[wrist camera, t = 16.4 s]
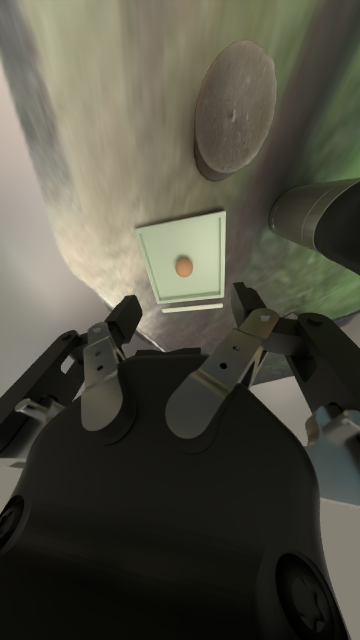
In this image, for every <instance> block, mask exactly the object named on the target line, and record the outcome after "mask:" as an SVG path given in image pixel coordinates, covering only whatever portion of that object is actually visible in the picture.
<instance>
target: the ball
mask: <svg viewBox="0 0 360 640" xmlns="http://www.w3.org/2000/svg"><path fill="white" fill-rule="evenodd" d="M175 270H176V273H177V274H178V275H179V276H180V277H188V276H189V275H191V273H192V271H193V264H192V262H191V261H190V260H189V259H186V258H183V259H180V260H179V261H178V262H177V263H176V265H175Z"/></svg>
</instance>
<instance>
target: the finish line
mask: <svg viewBox="0 0 360 640" xmlns="http://www.w3.org/2000/svg"><path fill="white" fill-rule="evenodd" d="M222 307H223V303H219V304H208V305H198V306H187V307H176V308H166V309H162V311H163V313H165V312H177V311H188V310H199V309H210V308H222Z"/></svg>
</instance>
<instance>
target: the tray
mask: <svg viewBox="0 0 360 640" xmlns="http://www.w3.org/2000/svg"><path fill="white" fill-rule="evenodd" d="M225 228H226V211H224V210H223V211H218V212H213V213H208V214H203V215H199V216H194V217H189V218H184V219H179V220H174V221H169V222H164V223H159V224H154V225H149V226H144V227H139V228H136V229H134V232H135V235H136V238H137V242H138V245H139V248H140V251H141V254H142V257H143V260H144V263H145V267H146V270H147V273H148V276H149V279H150V282H151V285H152V288H153V292H154V295H155V298H156V301H157V304H161V303H171V302H181V301H191V300H201V299H211V298H221V297H224V272H225ZM183 258H186V259H189V260H190V261H191V262H192V264H193V271H192V273H191V275H189V276H188V277H180V276H179V275H178V274H177V273H176V270H175V265H176V263H177V262H178V261H179V260H180V259H183Z"/></svg>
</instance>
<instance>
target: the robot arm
mask: <svg viewBox="0 0 360 640" xmlns="http://www.w3.org/2000/svg"><path fill="white" fill-rule="evenodd" d="M269 226H270V229H271V230H272V232H273V233H275V234H276V235H279V236H281V237H283V238H285V239H288V240H290V241H292V242H295V243H297V244H299V245H302V246H304V247H307V248H309V249H311V250H314V251H316V252H318V253H321V254H323V255H324V256H325V257H326V258H328V259H330V260H332V261H334V262H336V263H338V264H340V265H342V266H344V267H346V268H348V269H349V270H351V271H353V272H355V273H356V274H358V275H360V178H354V179H346V180H339V181H332V182H324V183H317V184H309V185H302V186H297V187H294V188H291V189H289V190H288V191H286V192H285V193H284V194H283V195H282V196H280V198H279V199H278V200H277V201H276V203H275V204H274V206H273V208H272V210H271V213H270V216H269ZM231 307H232V311H233V314H234V317H235V320H236V324H237V327H238V329H237V328H233V329H232V330H231V331H230V332H229V333H228V335H227V336H226V337H225V338H224V339H223V341H222V342H221V343H220V344H219V345H218V346H217V348H216V349H215V350H214V351H213V352H212V354H211V355H208V354H205V353H201V348H183V349H179V350H175V351H171V352H161V351H156V350H137V352H136V354H135V355H134V356H132V357H129V358H127V357H126V355H125V352H124V349H123V347H122V346H121V345H122V344H126V343H129V342H130V340H131V338H132V336H133V334H134V332H135V330H136V328H137V326H138V324H139V322H140V319H141V317H142V309H141V306H140V304H139V302H138V299H137V297H136V296H135V295H129V296H125V297H124V299H123V300H122V301H121V303H119V304H118V305H117V306H116V307H115V308H114V310H113V311H112V312H111V313H110V315H109V316H108V317H107V318H106V320H105V321H104V322H99V323H97V324H95V325H93V326H92V327H90V328H89V329H88V332H87V333H85V334H81V335H79V334H78V333H77V331H75V330H71V331H68V332H66V333H64V334H62V335H61V336H59V337H58V338H57V339H56V340H55V341H54V342H53V344H52V345H51V346H50V347H49V348H48V349H47V350H46V351H45V352H44V353H43V354H42V355H41V356H40V357H39V358H38V359H37V360H36V361H35V362H34V363H33V364H32V365H31V366H30V368H29V369H28V370H27V371H26V372H25V373H24V374H23V375H22V376H21V377H20V378H19V379H18V380H17V381H16V382H15V383H14V384H13V385H12V386H11V387H10V388H9V389H8V390H7V391H6V393H5V394H4V395H3V396H2V397H1V398H0V467H8V466H9V467H15V468H23V471H22V473H21V476H20V478H19V481H18V483H17V485H16V487H15V489H14V491H13V493H12V495H11V497H10V499H9V501H8V503H7V505H6V506H5V508H4V510H3V511H2V512H1V514H0V640H351V637H350V635H349V632H348V630H347V627H346V624H345V621H344V619H343V616H342V613H341V610H340V608H339V605H338V602H337V599H336V597H335V593H334V591H333V587H332V584H331V581H330V577H329V574H328V570H327V565H326V561H325V556H324V551H323V546H322V538H321V531H320V501H323V502H327V503H332V504H336V505H342V506H346V507H350V508H356V509H360V348H359V347H358V346H357V345H356V344H355V343H354V342H353V341H352V340H351V339H350V338H349V337H348V336H347V335H346V334H345V333H344V332H343V331H342V330H341V329H340V328H339V327H338V326H337V325H336V324H335V323H334V322H333V321H332V320H331V319H330V318H328V317H326V316H324V315H321V314H317V313H303V314H300V315H299V316H298V318H297V320H295V319H286V318H281V317H279V315H278V313H277V312H275V311H273V310H271V309H267V307H266V306H265V304H264V303H263V301H262V299H260V296H259V295H258V293H257V292H256V290H254V289H252V288H246V287H245V285H244V283H243V282H238V283H232V292H231ZM268 352H273V353H278V354H283V355H285V357H286V359H287V361H288V363H289V366H290V368H291V370H292V372H293V374H294V376H295V378H296V380H297V382H298V384H299V387H300V389H301V391H302V393H303V395H304V397H305V399H306V401H307V403H308V405H309V408H310V410H311V412H312V415H311V416H310V417H309V418H308V419H307V421H306V424H305V428H306V432H307V436H308V444H307V446H302V444H301V442H300V441H299V440H298V438H297V437H296V436H295V435H294V434H293V433H292V431H291V430H290V429H288V428H287V427H286V426H285V425H284V424H283V423H282V422H281V421H280V420H279V419H278V418H277V417H276V416H275V415H274V414H273V413H272V412H271V411H270V410H269V409H268V408H267V407H266V406H265V405H264V404H263V403H262V402H261V401H260V400H259V399H258V398H257V397H256V396H255V395H254V394H253V393H251V391H250V390H249V389H250V387H251V385H252V383H253V381H254V378H255V376H256V374H257V372H258V370H259V368H260V366H261V364H262V363H263V361H264V359H265V357H266V355H267V353H268ZM68 355H69V356H70V357H71V358H72V359H73V360H74V363H73V364H72V366H71V367H70V368H69V370H68V371H67V373H66V374H64V373H63V372H62V371H61V364H62V363H63V362H64V360H65V359H66V358H67V356H68ZM84 380H85V390H84V391H83V392H82V394H81V396H79V397H78V398H77V399H75V400H74V401H73V399H74V398H75V396H76V394H77V393H78V391H79V389H80V387H81V386H82V384H83V382H84ZM72 401H73V402H72Z"/></svg>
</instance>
